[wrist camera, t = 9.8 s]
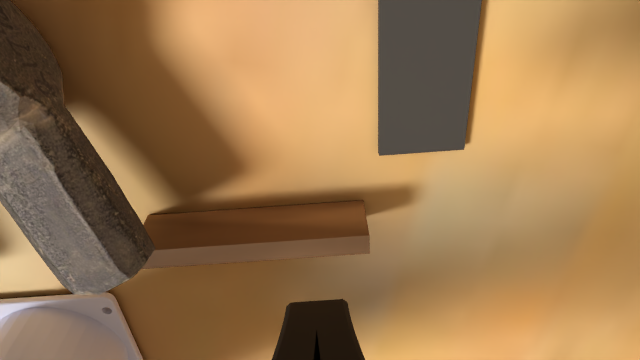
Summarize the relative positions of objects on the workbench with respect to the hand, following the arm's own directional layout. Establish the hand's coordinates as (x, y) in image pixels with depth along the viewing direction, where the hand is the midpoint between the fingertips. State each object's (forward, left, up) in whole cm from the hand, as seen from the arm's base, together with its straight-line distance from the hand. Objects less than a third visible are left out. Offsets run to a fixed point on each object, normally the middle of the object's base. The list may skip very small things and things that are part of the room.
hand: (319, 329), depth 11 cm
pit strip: (+4, -4, -10) cm, 12 cm away
